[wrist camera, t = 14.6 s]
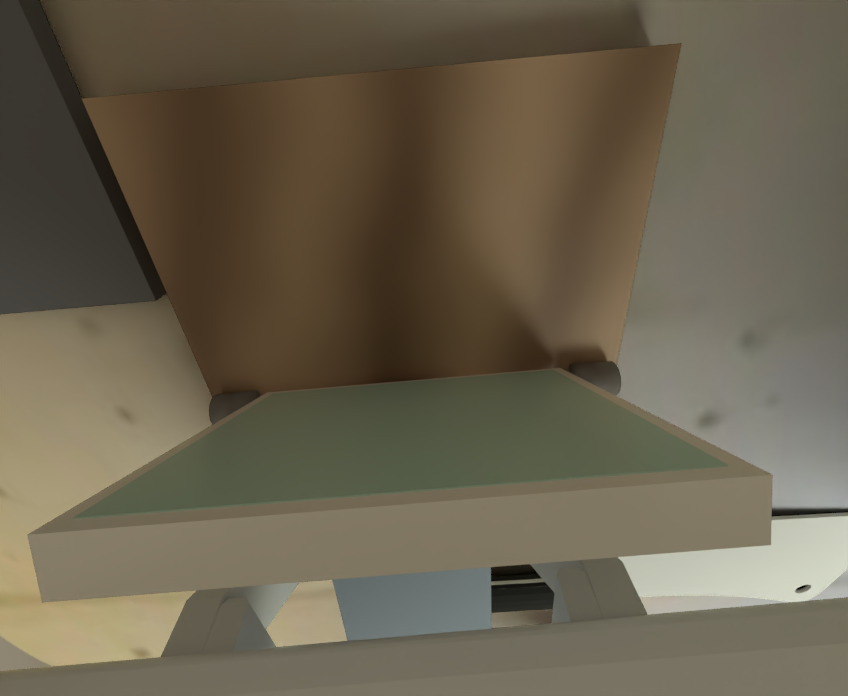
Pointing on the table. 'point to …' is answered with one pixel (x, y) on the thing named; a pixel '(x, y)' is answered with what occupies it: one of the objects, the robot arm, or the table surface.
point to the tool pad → (58, 185)
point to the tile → (405, 490)
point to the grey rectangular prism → (415, 603)
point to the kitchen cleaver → (719, 568)
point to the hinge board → (397, 217)
